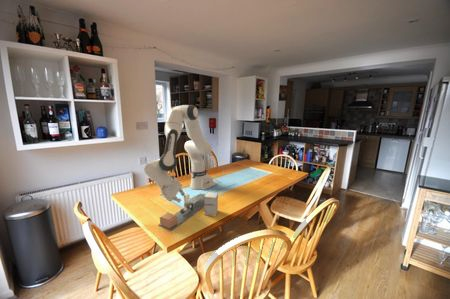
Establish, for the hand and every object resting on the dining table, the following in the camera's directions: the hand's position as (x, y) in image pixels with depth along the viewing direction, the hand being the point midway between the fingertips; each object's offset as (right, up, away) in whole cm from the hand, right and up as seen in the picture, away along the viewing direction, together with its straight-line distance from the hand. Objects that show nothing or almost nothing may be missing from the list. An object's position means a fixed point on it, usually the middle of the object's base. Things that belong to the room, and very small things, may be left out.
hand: (182, 198), depth 123 cm
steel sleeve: (+8, -7, +10) cm, 15 cm away
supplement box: (+18, -10, +2) cm, 21 cm away
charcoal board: (+3, -10, +2) cm, 10 cm away
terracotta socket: (-5, -12, -11) cm, 17 cm away
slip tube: (+6, -7, +6) cm, 11 cm away
